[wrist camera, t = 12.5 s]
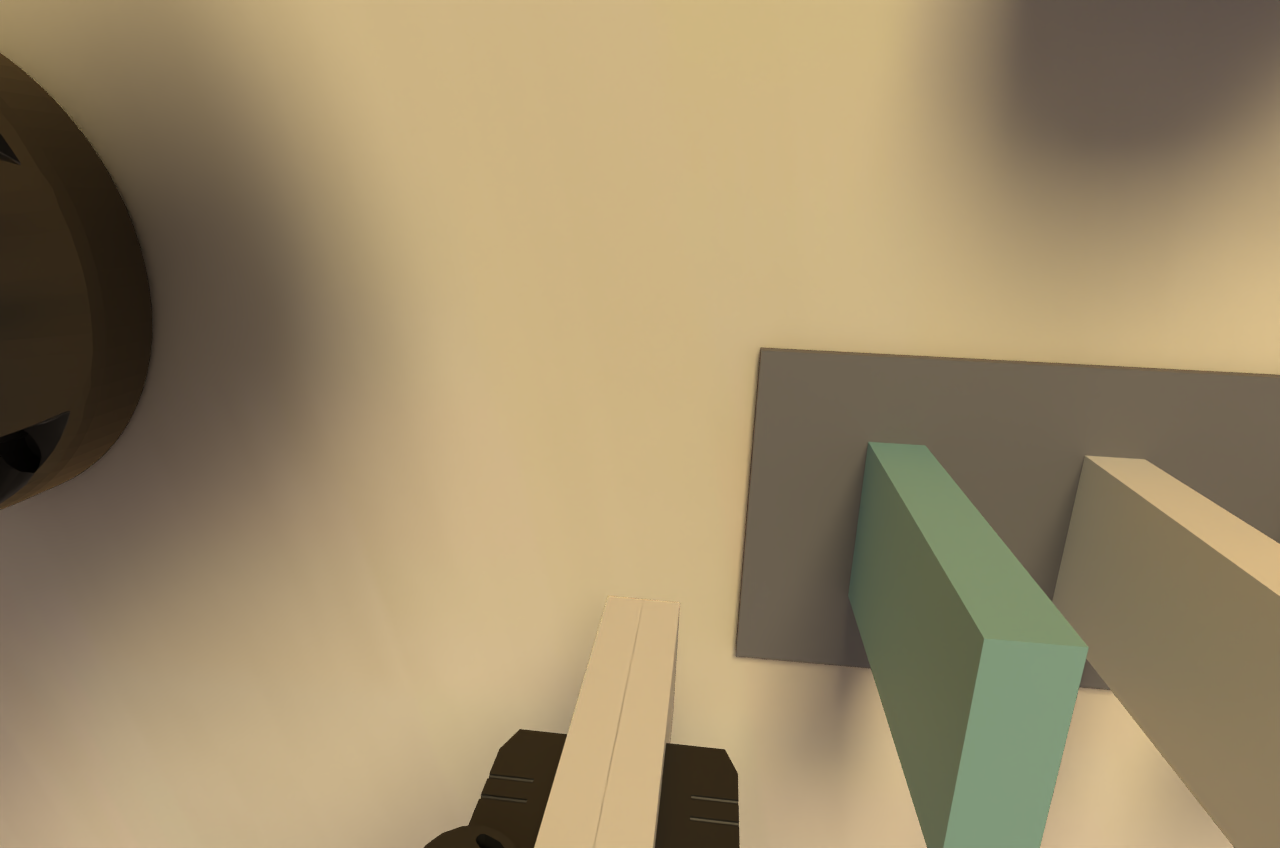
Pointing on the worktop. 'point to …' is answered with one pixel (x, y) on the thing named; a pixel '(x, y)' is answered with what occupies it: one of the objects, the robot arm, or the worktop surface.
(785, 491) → the mat
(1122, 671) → the domino
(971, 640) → the green domino
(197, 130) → the worktop surface
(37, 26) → the worktop surface
